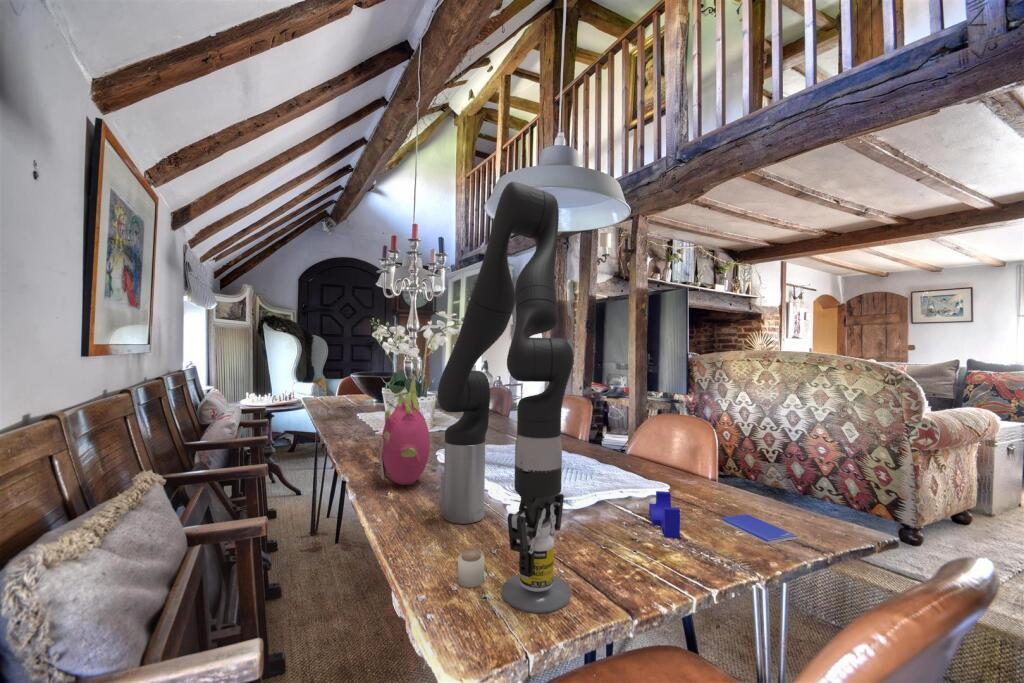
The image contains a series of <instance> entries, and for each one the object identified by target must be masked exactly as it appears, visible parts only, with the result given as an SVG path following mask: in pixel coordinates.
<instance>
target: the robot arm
mask: <svg viewBox="0 0 1024 683" xmlns="http://www.w3.org/2000/svg"><path fill="white" fill-rule="evenodd" d="M559 212H560V210H559V203H558V200H557V198H556V196H555V195H554V194H551V193H550V192H547V191H544V190H543V189H542V190H541V189H539V188H535V187H533V186H530V185H526V184H524V183H521V182H517V181H510V182H509V183H507V184H506V185H505V187H504V189H503V190H502V192H501V195H500V197H499V200H498V203H497V206H496V209H495V213H494V214H495V215H494V218H493V221H492V226H491V230H490V234H489V238H488V241H487V242H488V243H487V245H486V250H485V253H484V257H483V260H482V263H481V266H480V269H479V272H478V274H477V278H476V280H475V283H474V286H473V289H472V292H471V293H470V294H471V295H470V298H469V300H468V304H467V307H466V310H465V313H464V317H463V321H462V324H461V327H460V329H459V333H458V335H457V338H456V342H455V344H454V346H453V349H452V351H451V354H450V356H449V358H448V361H447V363H446V365H445V366H444V369H443V371H442V374H441V375H440V376H441V377H440V379H439V383H438V386H437V387H438V388H437V402H438V406H439V407H440V408H441V410H442V411H444V412H446V413H462V416H461V417H460V418H459V419H458V420H457V421H456V422H455V423H452V425H450V426H448V427H447V428H446V429H445V430H444V466H443V467H444V468H443V469H444V471H443V473H441V475H440V496H439V497H440V498H439V500H440V504H439V506H440V507H439V509H440V510H439V515H440V516H441V517H443V519H444V520H445V521H447V522H449V523H452V524H461V525H463V524H465V525H466V524H472V523H474V524H475V523H477V522H479V521H482V519H484V518H485V494H486V493H485V490H486V489H485V485H486V484H485V483H486V482H485V480H486V478H485V477H486V475H485V474H486V434H487V432H488V428H489V420H490V419H489V417H490V408H491V407H490V405H491V404H490V403H491V387H490V386H491V385H490V381H489V379H488V377H487V376H488V375H486V374H485V373H484V372H483V371H480V370H473V368H474V367H475V364H476V363H477V361H478V360H479V359H480V358H481V357H482V356H483V355H484V353H486V352H487V351H488V350H489V349H490V348H491V347H492V346H493V345H494V344H495V343H496V342H497V341H498V340H499V338H501V336H503V334H504V333H505V331H506V329H507V327H508V325H509V323H510V320H511V317H512V314H513V311H514V309H515V326H514V332H513V335H512V336H513V337H512V339H511V342H510V346H509V349H508V351H507V352H508V353H507V357H506V368H507V370H508V373H509V374H510V376H511V378H513V379H514V380H515V381H518V382H526V383H527V382H530V383H531V382H532V383H533V382H536V383H537V382H539V383H540V382H543V383H544V382H547V383H548V382H549V383H548V386H547V387H546V389H544V391H542V392H541V393H538V394H533V395H528V396H524V397H522V398H521V399H519V401H518V403H517V410H516V414H517V415H516V416H517V417H516V418H517V421H516V423H517V424H516V428H517V429H516V438H515V439H516V441H515V446H514V447H515V448H514V486H513V488H514V491H515V492H516V493H517V494H518V495H519V497H520V502H519V507H518V511H516V512H515V513H511V512H510V513H508V515H507V527H508V528H507V530H508V537H509V538H508V539H509V547H510V550H511V551H513V552H517V553H518V554H519V555H518V556H519V558H518V559H519V562H518V563H519V565H518V566H519V567H518V570H519V571H518V572H519V574H521V575H524V576H527V577H531V576H532V575H533V574H534V552H533V551H534V547H535V542H536V539H537V538H539V536H540V532H541V527H542V525H543V524H544V523H546V522H547V521H548V522H550V534H549V535H551V536H552V537H553V539H554V538H556V533H557V532H556V531H558V532H559V531H560V530H561V527H562V518H563V509H564V508H563V507H564V498H565V495H564V494H563V493H561V491H562V477H563V476H562V475H563V474H562V472H563V471H562V470H563V469H562V467H563V465H562V464H563V446H562V439H561V438H562V437H561V436H562V435H561V434H562V433H561V432H562V408H563V407H562V406H563V402H564V397H565V392H566V388H567V386H568V382H569V380H570V377H571V373H572V370H573V365H574V360H575V356H574V351H573V348H572V345H571V344H570V342H568V340H566V339H564V338H560V337H533V336H535V335H539V334H543V333H547V332H549V331H552V330H553V329H554V328H555V327H556V326H557V324H558V319H559V313H558V303H557V302H558V301H557V293H556V292H557V291H556V280H555V279H556V278H555V277H556V273H555V271H556V259H557V258H556V257H557V249H558V248H557V247H558V235H559V221H560V220H559V216H560V214H559ZM512 234H513V235H517V236H520V237H524V238H527V239H532V240H534V241H535V251H534V253H533V255H532V256H531V257H530V259H529V260H528V261H527V263H526V264H525V265H524V267H523V268H522V270H521V271H520V273H519V275H518V276H517V279H516V283H515V285H514V281H513V278H512V274H511V271H510V267H509V261H508V251H509V249H508V248H509V243H510V238H511V236H512ZM514 286H515V287H514ZM526 526H527V527H529V528H533V529H534V531H529V530H526ZM527 536H529V537H530V540H529V544H527Z"/></svg>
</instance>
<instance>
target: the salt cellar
mask: <svg viewBox="0 0 1024 683" xmlns="http://www.w3.org/2000/svg"><path fill="white" fill-rule="evenodd" d="M484 582H485V555H484V554H483V553H482V551H481V550H480V549H479V548H475V547H468V548H465V549H463V550H462V551H461V553H460V554H459V555H458V557H457V583H458V585H459V586H461V587H463V588H468V587H470V588H471V589H472V588H477V587H479V585H480V586H481V585H483V584H484ZM482 583H483V584H482ZM470 588H469V589H470Z"/></svg>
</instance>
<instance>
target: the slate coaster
mask: <svg viewBox="0 0 1024 683" xmlns="http://www.w3.org/2000/svg"><path fill="white" fill-rule="evenodd" d="M571 594H572V590H571V587H570V586H569V584H568V583H567V582H566V581H565V580H564V579H561V578H560V577H558V576H556V575H553V585H552V587H551V588H549V589H548V590H545V591H539V592H535V591H530V590H528V589H525V588H524V587H523V586H522V585H521V584H520V573H519V574H516V575H513V576H510V577H509V578H507V579H506V580H505V581H504V583H503V584H502V587H501V595H502V598H504V599H503V600H504V601H505V603H507V605H509V606H510V607H512V608H513V609H516V610H518V611H521V612H526V613H531V614H548V613H553V611H554V612H556V611H559V610H561V609H563V608H565V607H566V606H567V605H568V604H569V603H570V601H571V597H572V595H571Z"/></svg>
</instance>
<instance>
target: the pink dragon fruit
mask: <svg viewBox="0 0 1024 683" xmlns="http://www.w3.org/2000/svg"><path fill="white" fill-rule="evenodd" d="M419 402H420V401H419V400H418V395H417V390H416V376H415V375H412V376H411V383H410V387H409V391H408V393H407V395H406V396H405V397H404V394H403V392H399V393H398V400H397V403H396V406H395V408H394V410H393V412H392V413H391V411H390V410H388V409H387V410H386V411H385V412H384V423H385V424H384V427H383V430H382V434H381V437H380V438H379V464H380V469H381V470H380V473H381V480H385V479H386V476H387V475H388V476H389V478H390V479H391V480H392V481H393V482H394V483H395V484H397V485H401V486H409V485H412V484H414V483H415V482H416V481H418V480H419V478H420V477H421V476H422V474H423V473H424V471H425V469H426V466H427V463H428V461H429V456H430V449H431V438H430V432H429V429H428V428H429V427H428V424H427V421H426V419H425V416H424V415H423V414H422V412H421V409H420V408H421V407H420V403H419Z"/></svg>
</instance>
